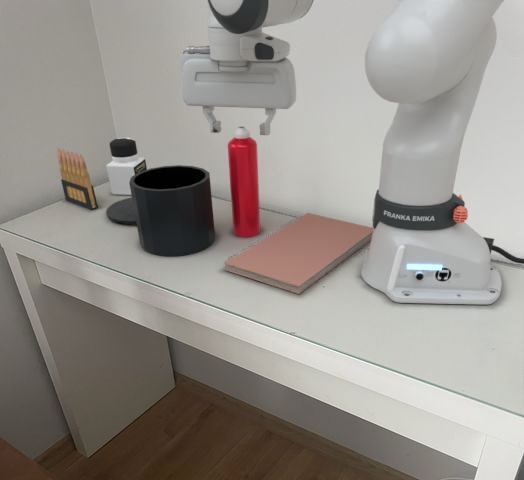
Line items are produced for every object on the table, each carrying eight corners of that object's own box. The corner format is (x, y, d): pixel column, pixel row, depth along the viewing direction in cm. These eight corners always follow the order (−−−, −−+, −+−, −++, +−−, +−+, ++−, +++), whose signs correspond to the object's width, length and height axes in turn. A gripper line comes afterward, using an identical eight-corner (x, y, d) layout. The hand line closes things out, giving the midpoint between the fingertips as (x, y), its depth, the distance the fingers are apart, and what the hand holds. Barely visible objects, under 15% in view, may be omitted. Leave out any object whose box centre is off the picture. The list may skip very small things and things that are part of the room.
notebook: (303, 219, 111) (303, 210, 110) (375, 237, 103) (376, 227, 102) (219, 269, 94) (218, 259, 93) (298, 295, 85) (299, 284, 84)
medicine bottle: (139, 195, 127) (130, 143, 120) (111, 194, 128) (101, 143, 121) (150, 186, 132) (142, 135, 125) (123, 185, 134) (114, 135, 127)
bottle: (240, 225, 110) (234, 123, 98) (264, 228, 108) (261, 124, 96) (228, 235, 106) (221, 130, 94) (253, 238, 104) (248, 132, 92)
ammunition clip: (98, 207, 121) (86, 154, 114) (91, 210, 120) (79, 156, 113) (72, 198, 127) (59, 146, 120) (65, 200, 126) (52, 148, 119)
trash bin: (225, 229, 108) (220, 167, 101) (198, 260, 97) (190, 193, 90) (161, 223, 112) (152, 163, 105) (127, 252, 101) (114, 187, 94)
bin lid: (189, 203, 122) (186, 180, 119) (159, 229, 110) (155, 205, 106) (128, 198, 126) (124, 176, 123) (93, 223, 113) (88, 199, 110)
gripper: (171, 48, 88) (180, 135, 96) (289, 48, 83) (289, 140, 91) (186, 43, 93) (194, 126, 101) (299, 44, 88) (298, 131, 96)
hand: (240, 133), depth 96 cm, fingers open, 8 cm apart
